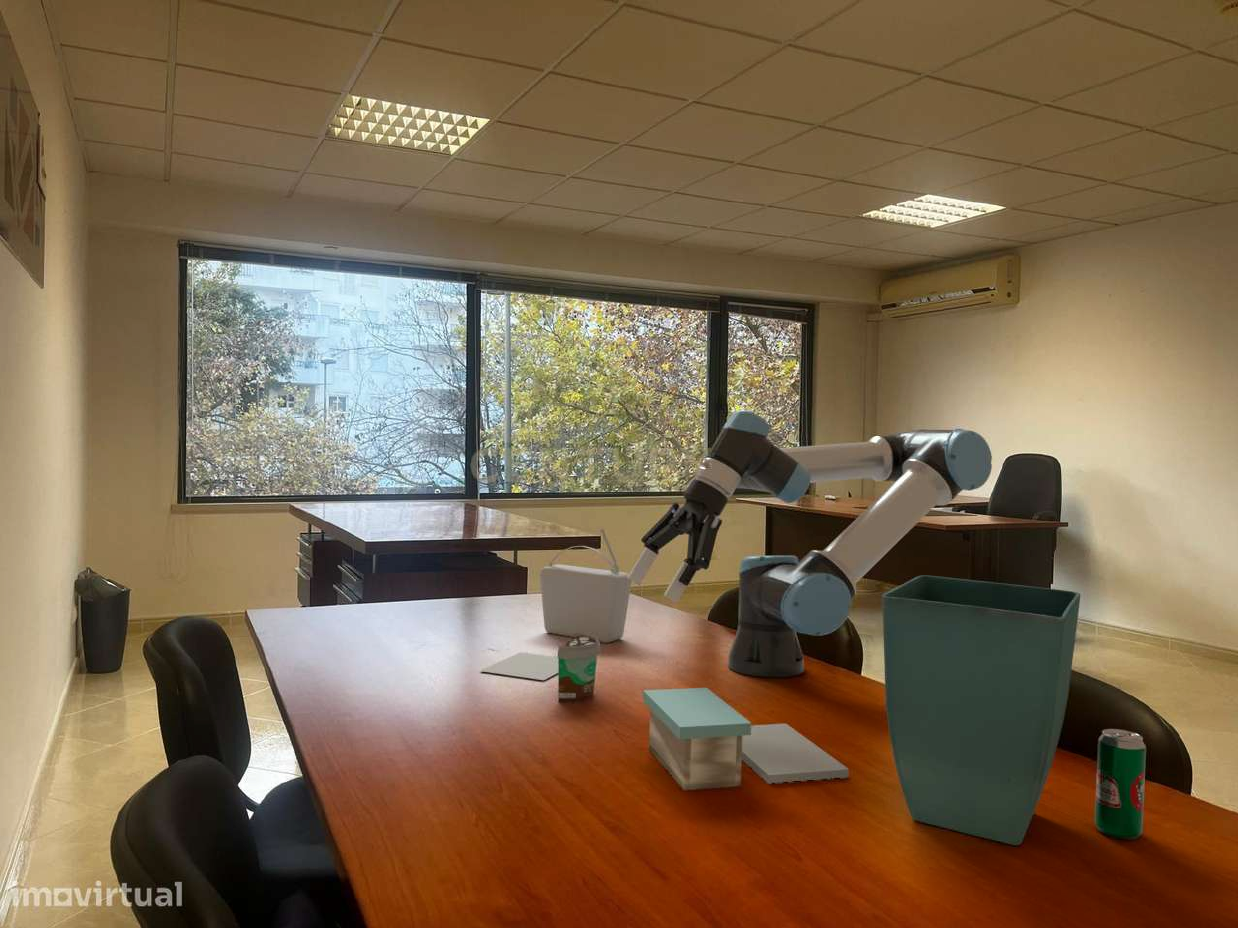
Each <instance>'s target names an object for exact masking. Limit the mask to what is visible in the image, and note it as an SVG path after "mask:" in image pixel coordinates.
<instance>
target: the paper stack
mask: <svg viewBox="0 0 1238 928" xmlns="http://www.w3.org/2000/svg"><path fill="white" fill-rule="evenodd" d="M557 657H558V656H552V655H550V656H549V655H544V654H536V653H528V652H521V651H520V652H518V653H516V654H513V655H512V656H509V657H507V658H505V659H503V660H501V661H498V662H496V663H493V664H491V665H489V666H487V667H484V668H481V670H479V672H483V673H484V672H485V673H491V674H499V675H505V676H512V677H519V678H527V679H532V680H538V681H539V680H540V681H545V680H547V679H549V678H551V677H552V676H554V675H557V674H558V658H557Z"/></svg>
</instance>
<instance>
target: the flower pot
mask: <svg viewBox="0 0 1238 928" xmlns="http://www.w3.org/2000/svg"><path fill="white" fill-rule="evenodd" d="M1080 604H1081V593H1080V592H1078V591H1071V590H1065V589H1056V588H1048V587H1038V586H1028V585H1022V584H1021V585H1020V584H1010V583H1002V582H993V581H983V580H974V579H973V580H972V579H964V578H953V577H948V576H946V577H945V576H936V575H918V576H916V577H914V578H912V579H909V580H908V581H906V582H904V583H903V584H900V585H899V586H896V587H895V588H893V589H891V590H888V591H887V592H885V593H883V594H882V595H881V606H882V607H881V610H882V630H883V634H882V635H883V658H884V660H883V661H884V662H883V663H884V689H885V694H884V695H885V708H886V717H887V725H888V732H889V738H890V744H891V748H892V755H893V760H894V764H895V765H894V766H895V768H896V773H897V776H898V779H899V780H898V781H899V784H900V788H901V791H902V794H903V797H904V799H905V803H906V805H907V808H908V809H907V810H908V812H909V814H910V817H911V818H912V819H913V821H916V822H920V823H924V824H926V825H932V826H936V827H939V828H943V829H946V830H947V829H948V830H951V831H955V832H959V833H963V834H967V835H971V836H975V837H978V838H979V837H980V838H982V839H987V840H992V841H995V842H999V843H1004V844H1007V845H1010V846H1019V845H1021V844H1022V843H1023V840H1024V838H1025V836H1026V833H1027V830H1028V828H1029V826H1030V822H1031V821H1032V818H1033V815H1034V814H1035V811H1036V808H1037V805H1038V803H1039V800H1040V798H1041V795H1042V792H1043V790H1044V788H1045V785H1046V781H1047V779H1048V776H1049V773H1050V770H1051V767H1052V765H1053V761H1054V758H1055V754H1056V751H1057V748H1058V744H1059V741H1060V740H1059V739H1060V736H1061V731H1062V727H1063V725H1064V719H1065V715H1066V710H1067V709H1066V708H1067V704H1068V703H1067V702H1068V698H1069V692H1070V691H1069V690H1070V683H1071V676H1072V667H1073V660H1074V651H1075V643H1076V642H1075V641H1076V634H1077V626H1078V619H1079V611H1080Z"/></svg>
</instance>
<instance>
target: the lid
mask: <svg viewBox="0 0 1238 928" xmlns="http://www.w3.org/2000/svg"><path fill="white" fill-rule="evenodd" d="M642 692H643V693H642V702H643V703H644V704H645V706H647V707H648V709H649V710H650V709H651V710H652V711H653V712H654V713H655V714H656V715H657V716H658V717H659V718H660V720H661V721H662V722H663V723H664V724H665V725H666V726H667V727H668V728H669V729H670V730H671V731H672V732H673V733H674V734H675V735H676V736H677V737H678V738H679V739H694V738H710V737H727V736H743V735H751V726H752V722H750V720H748V719H747V718H746V717H744V716H743V715H742V714H740V712H738V711H736V710H735V708H733V707H732V706H731V705H730V704H727V703H726V702H725V701H724V700H723V699H722V698H720V697H719V696H718V695H717V694H715V693H714V692H713V691H711V690H710V689H709V688H708V687H693V688H691V687H690V688H670V689H650V690H649V689H647V690H643V691H642Z"/></svg>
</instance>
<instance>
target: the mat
mask: <svg viewBox="0 0 1238 928" xmlns="http://www.w3.org/2000/svg"><path fill="white" fill-rule="evenodd" d="M742 762H744V763H745V764H746V765H747V766H748V767H751V768H752V769H751V768H750V769H751V770H752V771H754V772H755V773H756V774H757V775H758V776H759V777H760V778H761V779H762V778H763V779H764V780H763V779H762V780H763V781H765V782H766V783H767V784H768V785H772V783H775V784H784V783H783V782H788V783H794V782H793V781H801V782H808V781H807V780H814V781H823V780H822V779H827V780H835V779H834V778H840V779H848V778H847V777H850V776H849V774H850V770H849V768H848V767H847V766H845V765H844V764H843V763H842V762H839V761H838V760H837V759H836V758H834V757H833V756H831V755H830V754H829V753H827V752H826V751H825V750H823V749H822V748H820V747H819V746H818V745H816V744H815V743H814V742H812V741H811V740H809V739H808V738H806V737H805V736H804V735H802V734H801V733H800V732H798V731H797V730H796V729H795V728H793V727H792V726H790V725H789V724H787V723H773V724H771V723H770V724H755V725H752V724H751V735H743V736H742ZM831 778H832V779H831Z"/></svg>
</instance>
